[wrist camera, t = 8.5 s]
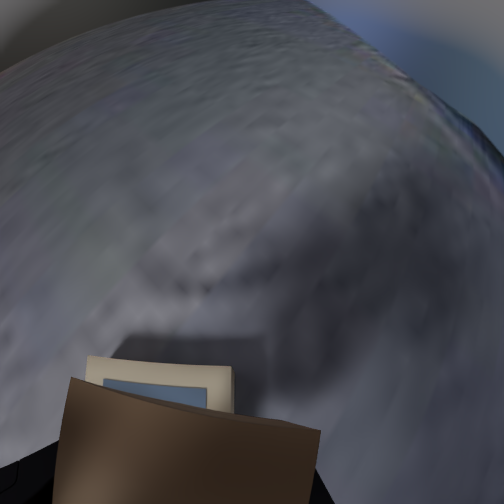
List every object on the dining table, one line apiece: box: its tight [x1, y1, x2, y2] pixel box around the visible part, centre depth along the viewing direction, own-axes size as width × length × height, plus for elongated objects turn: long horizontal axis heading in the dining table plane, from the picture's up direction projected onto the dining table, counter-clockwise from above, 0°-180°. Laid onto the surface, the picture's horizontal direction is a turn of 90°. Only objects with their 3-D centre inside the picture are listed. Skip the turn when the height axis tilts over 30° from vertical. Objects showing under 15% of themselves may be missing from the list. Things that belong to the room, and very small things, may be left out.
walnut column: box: [52, 377, 321, 504], centre depth 8 cm, size 5×5×10 cm
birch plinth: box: [85, 355, 235, 414], centre depth 18 cm, size 10×10×3 cm
